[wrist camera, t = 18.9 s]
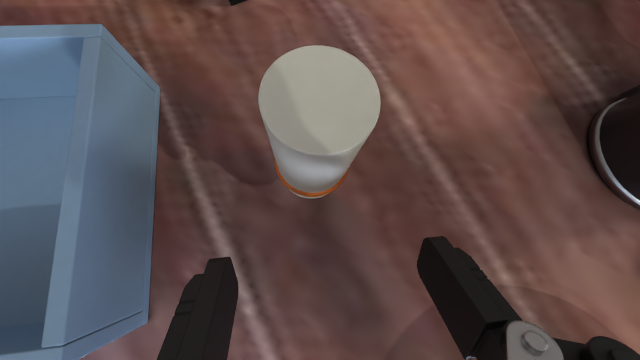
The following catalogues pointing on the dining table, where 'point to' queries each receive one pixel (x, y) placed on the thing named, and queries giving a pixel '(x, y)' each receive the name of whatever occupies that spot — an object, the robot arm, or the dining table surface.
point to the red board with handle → (235, 1)
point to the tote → (73, 190)
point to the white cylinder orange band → (317, 116)
